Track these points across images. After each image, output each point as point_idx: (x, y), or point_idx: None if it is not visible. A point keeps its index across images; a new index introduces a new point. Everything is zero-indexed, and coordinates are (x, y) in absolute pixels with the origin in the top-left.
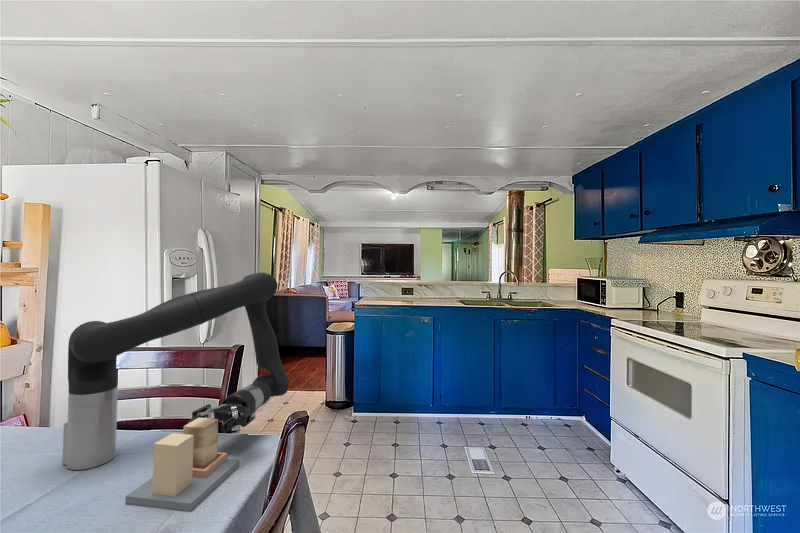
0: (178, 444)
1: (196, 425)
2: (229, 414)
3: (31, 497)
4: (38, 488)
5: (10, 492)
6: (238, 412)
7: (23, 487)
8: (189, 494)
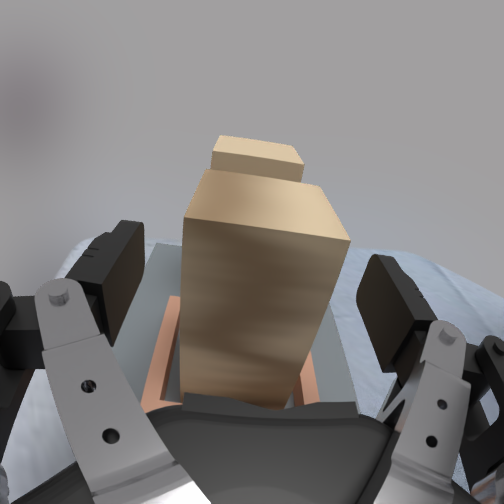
0: (220, 136)
1: (264, 182)
2: (162, 408)
3: (465, 290)
4: (486, 305)
5: (496, 296)
6: (63, 472)
7: (500, 305)
8: (175, 262)
